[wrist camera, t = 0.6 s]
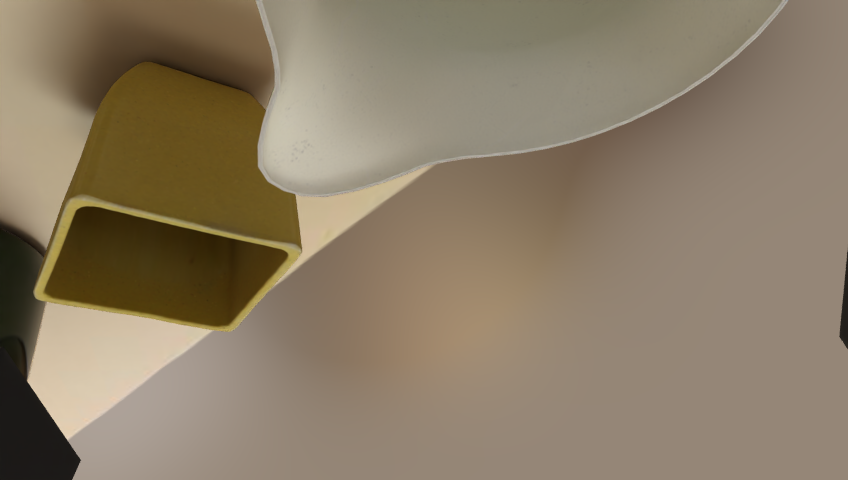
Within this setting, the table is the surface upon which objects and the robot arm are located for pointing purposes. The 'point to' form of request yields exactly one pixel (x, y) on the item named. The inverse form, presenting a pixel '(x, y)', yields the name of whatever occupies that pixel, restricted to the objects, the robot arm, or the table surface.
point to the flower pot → (171, 207)
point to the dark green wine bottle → (19, 300)
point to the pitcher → (474, 78)
